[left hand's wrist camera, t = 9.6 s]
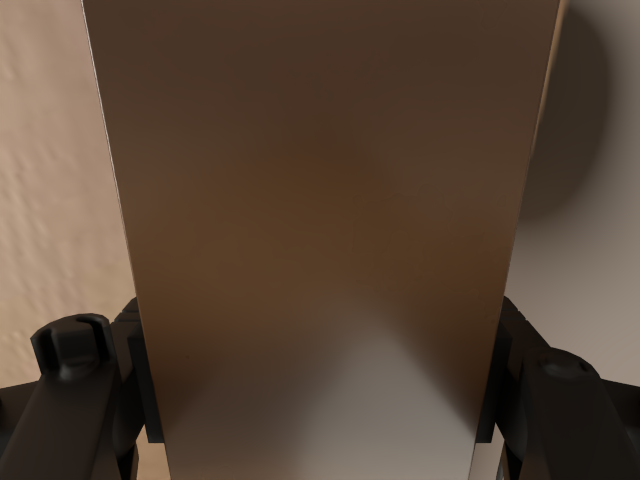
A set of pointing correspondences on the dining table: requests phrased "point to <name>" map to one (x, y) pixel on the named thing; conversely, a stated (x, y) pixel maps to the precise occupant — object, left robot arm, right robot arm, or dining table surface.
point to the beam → (320, 221)
